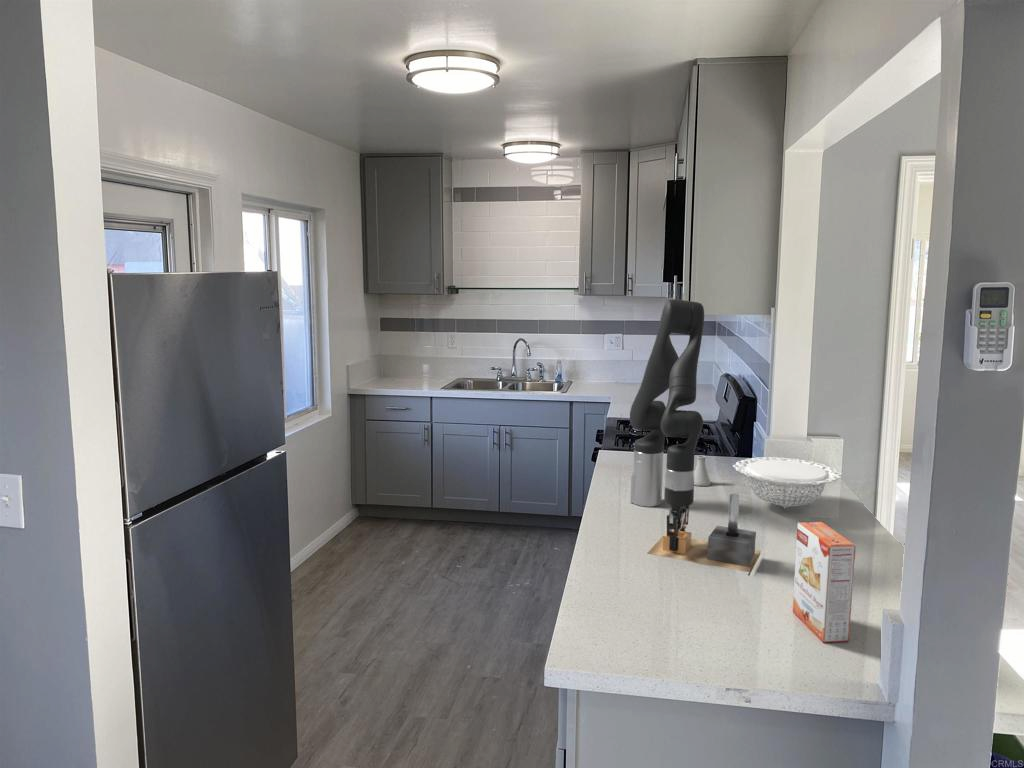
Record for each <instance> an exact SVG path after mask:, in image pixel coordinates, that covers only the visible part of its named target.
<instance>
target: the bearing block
mask: <svg viewBox="0 0 1024 768" xmlns="http://www.w3.org/2000/svg"><path fill="white" fill-rule="evenodd" d="M756 538H757V531H755V530H746V529H741V528H738V531H737V537H732V536H728V526H722V525H716V526H715V528H714V529H713V530H712V531H711V533H710V534H709V536H708V538H707V541H706V540H705V541H704V540H700V539H693V538H691V547H690V549H689V550H688V551H687V552H686V554H681V553H675V552H670V551H664V550H663V535H662V536H661V537H660V539H659V540H658V541H657V542H655V544H654V545H653V546H652V547H651V548H650V549H649V550H648V551H647V552H646V554H648V555H653V556H660V557H664V558H670V559H675V560H681V561H687V562H693V563H698V564H704V565H709V566H713V567H714V566H715V567H721V568H725V569H730V570H736V571H737V570H738V571H741V572H748V574H747V576H750V575H751V573H752V571H753V569H754V567H756V566H755V565H756V564H757V562H758V560H759V558H760V556H761V550H760V549H756Z"/></svg>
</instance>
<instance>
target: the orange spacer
mask: <svg viewBox="0 0 1024 768" xmlns="http://www.w3.org/2000/svg"><path fill="white" fill-rule="evenodd" d="M672 532H673V533H674V530H673V529H672ZM662 536H663V550H664V551H670V552H675V553H681V554H686V552H687V551H688V550H689V549H690V547H691V539H692V532H691V531H686V530H685V531H680V532H679V541H678V550H677V551H671V550H670V549H669V542H670V537H668V536H667V531H666V532H665V533H664V534H663V535H662Z"/></svg>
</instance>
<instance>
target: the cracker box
mask: <svg viewBox="0 0 1024 768" xmlns="http://www.w3.org/2000/svg"><path fill="white" fill-rule="evenodd" d="M796 527H797V529H796V530H797V531H796V545H795V549H796V550H795V564H794V579H793V580H794V583H793V585H794V586H793V601H792V613H793V614H794V615H795V616H796V617H797V618H799V620H800V621H801V622H802V623H803V624H804V625H806V627H807V628H808V629H809V630H810V631H811V632H812V633H813V634H814V635H815V636H816V637H817V638H818V639H819V640H820V641H821V642H822V643H840V642H841V643H843V642H846V643H847V642H849V641H850V632H851V631H850V630H851V616H852V604H853V603H852V602H853V590H854V589H853V588H854V578H855V577H854V576H855V575H854V574H855V562H856V549H857V548H856V547H857V545H856V544H855V543H853V542H852V541H850V540H849V539H847V538H846V537H845V536H843V535H842V534H840V533H839V532H838V531H836V530H834V529H833V528H831V527H830V526H828V525H827V524H825V523H824V522H822V521H813V522H812V521H811V522H810V521H806V522H803V521H802V522H797V526H796Z"/></svg>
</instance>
